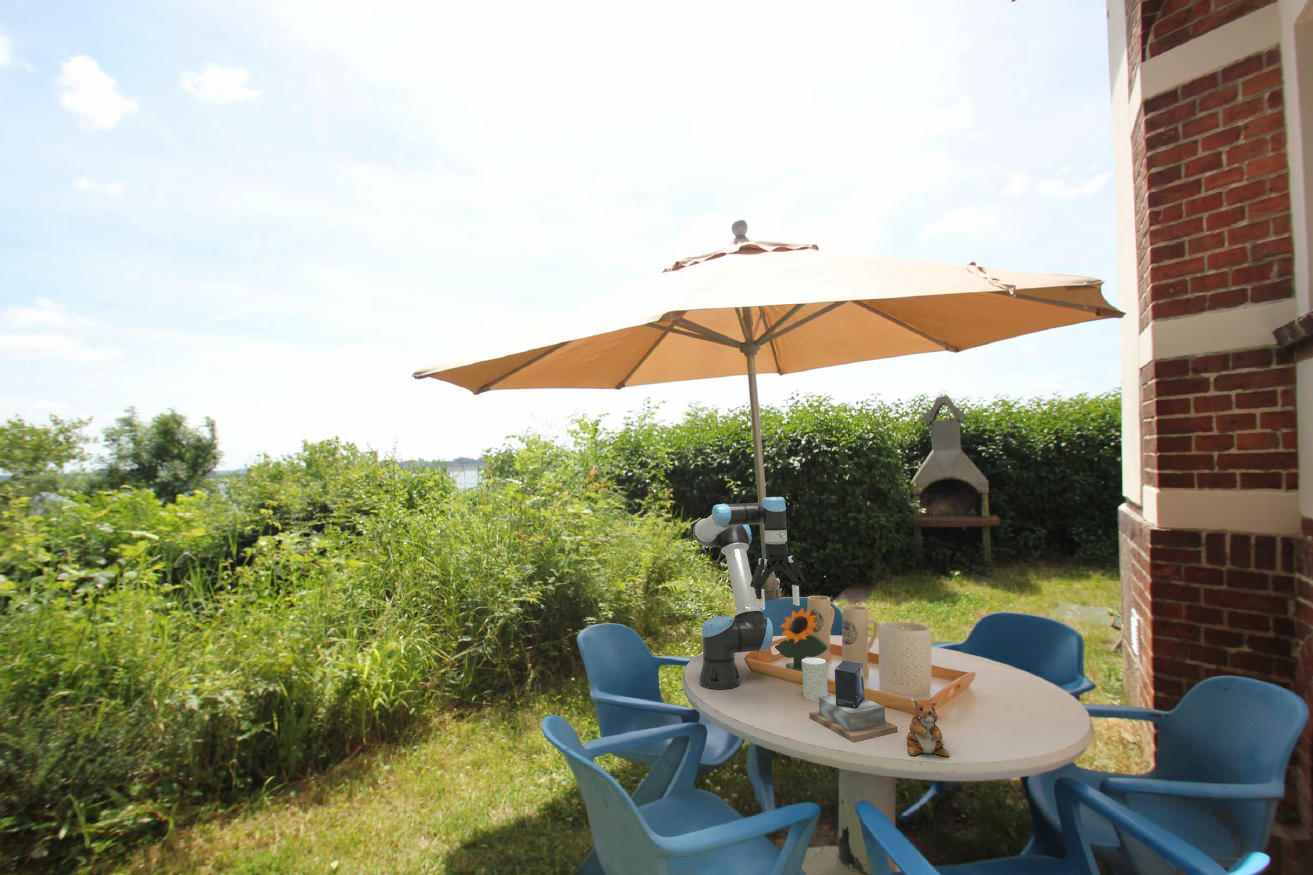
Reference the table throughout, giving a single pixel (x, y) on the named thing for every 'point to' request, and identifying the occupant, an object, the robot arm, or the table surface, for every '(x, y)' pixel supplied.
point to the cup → (814, 678)
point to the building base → (852, 734)
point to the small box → (849, 684)
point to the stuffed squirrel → (925, 730)
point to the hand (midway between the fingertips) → (779, 606)
